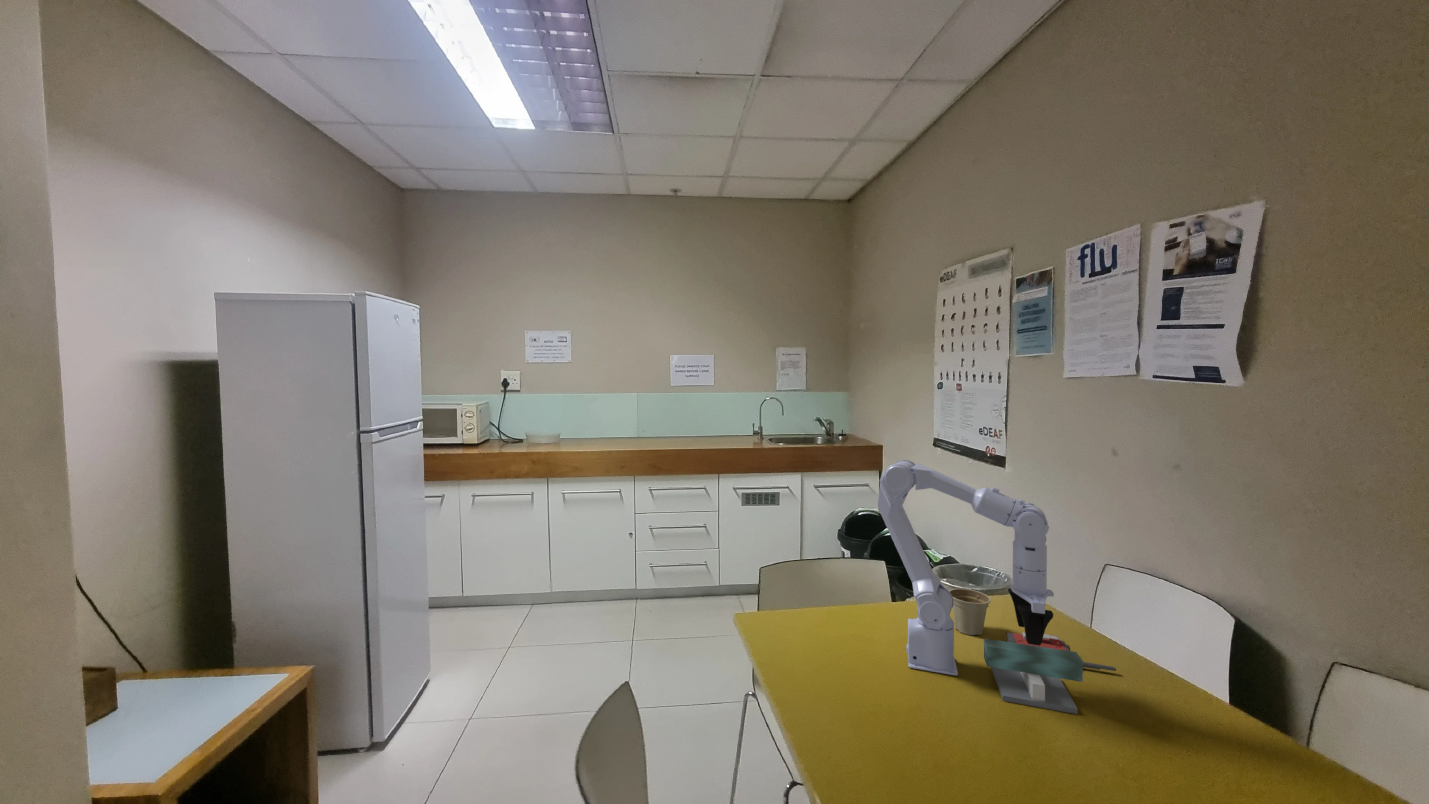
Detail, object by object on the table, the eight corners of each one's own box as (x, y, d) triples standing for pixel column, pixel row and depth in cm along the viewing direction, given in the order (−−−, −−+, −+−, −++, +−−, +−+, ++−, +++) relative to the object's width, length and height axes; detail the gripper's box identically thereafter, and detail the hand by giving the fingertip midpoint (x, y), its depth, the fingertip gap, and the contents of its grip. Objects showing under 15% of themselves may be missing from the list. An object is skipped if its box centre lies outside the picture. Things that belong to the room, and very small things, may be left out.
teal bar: (986, 666, 99) (987, 646, 99) (984, 657, 103) (984, 638, 103) (1082, 682, 94) (1082, 660, 94) (1076, 672, 97) (1076, 651, 97)
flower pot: (984, 623, 127) (984, 590, 127) (996, 641, 118) (996, 604, 118) (944, 620, 129) (944, 586, 129) (952, 637, 120) (953, 601, 120)
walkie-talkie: (1006, 659, 110) (1117, 678, 103) (1006, 639, 110) (1118, 657, 103) (1000, 641, 118) (1103, 658, 111) (1000, 623, 118) (1103, 638, 111)
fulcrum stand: (1002, 700, 95) (1002, 679, 95) (991, 668, 106) (991, 649, 106) (1077, 714, 90) (1077, 692, 90) (1057, 679, 102) (1057, 659, 102)
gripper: (1064, 582, 91) (1064, 656, 91) (1043, 558, 104) (1042, 622, 104) (1020, 577, 93) (1019, 649, 93) (1004, 554, 107) (1004, 617, 107)
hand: (1028, 635), depth 99 cm, fingers open, 7 cm apart
